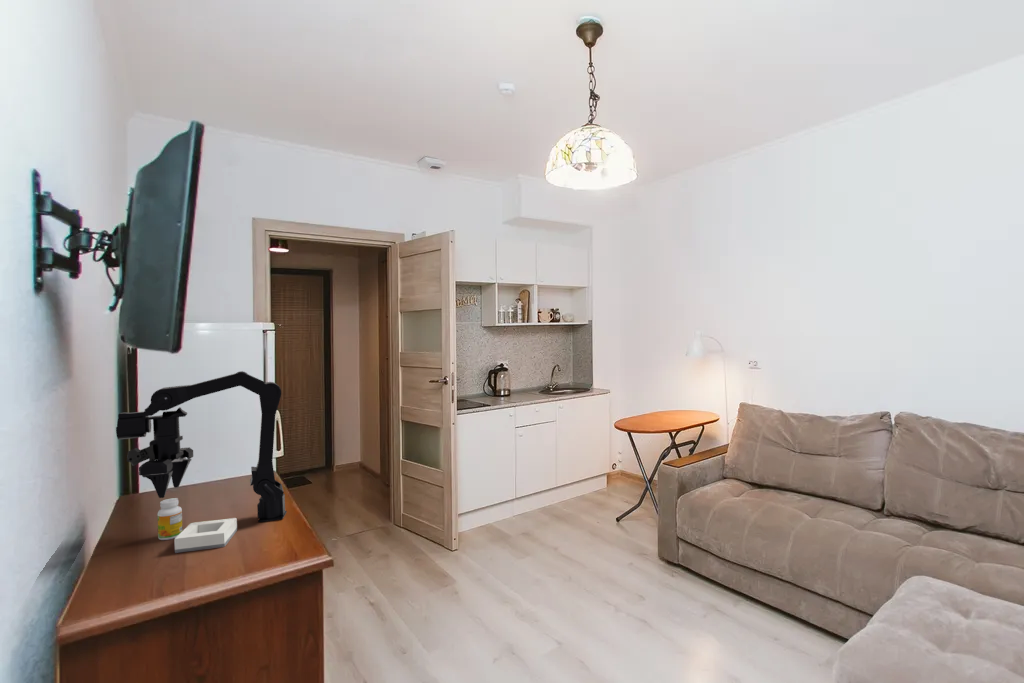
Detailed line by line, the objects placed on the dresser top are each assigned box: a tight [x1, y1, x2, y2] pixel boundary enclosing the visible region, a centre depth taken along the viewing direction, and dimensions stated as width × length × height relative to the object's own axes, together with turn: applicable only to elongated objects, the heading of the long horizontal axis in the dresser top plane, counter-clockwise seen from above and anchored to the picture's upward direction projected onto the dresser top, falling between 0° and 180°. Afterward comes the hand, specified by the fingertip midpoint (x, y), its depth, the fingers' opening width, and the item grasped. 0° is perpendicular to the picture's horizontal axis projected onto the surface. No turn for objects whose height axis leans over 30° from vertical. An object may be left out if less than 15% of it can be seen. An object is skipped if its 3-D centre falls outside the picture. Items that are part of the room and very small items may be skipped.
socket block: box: [173, 517, 238, 554], centre depth 127 cm, size 11×11×4 cm
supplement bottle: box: [157, 497, 184, 541], centre depth 131 cm, size 5×5×10 cm
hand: (169, 492), depth 131 cm, fingers open, 9 cm apart
